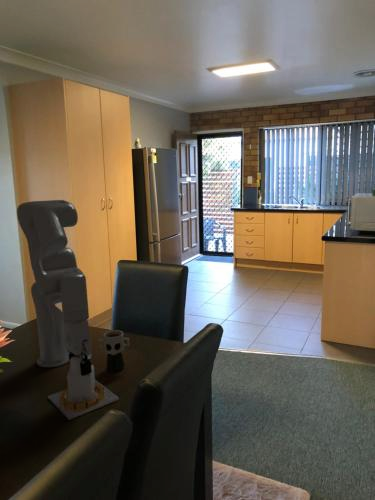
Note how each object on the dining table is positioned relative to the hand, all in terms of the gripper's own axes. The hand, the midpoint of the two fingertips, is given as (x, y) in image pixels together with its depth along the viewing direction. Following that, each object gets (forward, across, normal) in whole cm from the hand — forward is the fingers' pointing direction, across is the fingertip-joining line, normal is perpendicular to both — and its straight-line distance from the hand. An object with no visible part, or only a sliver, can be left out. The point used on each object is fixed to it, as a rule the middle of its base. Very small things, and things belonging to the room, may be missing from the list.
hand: (80, 369), depth 126 cm
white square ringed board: (+10, 0, 0) cm, 10 cm away
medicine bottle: (+8, 0, 0) cm, 8 cm away
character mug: (+10, -12, +18) cm, 24 cm away
